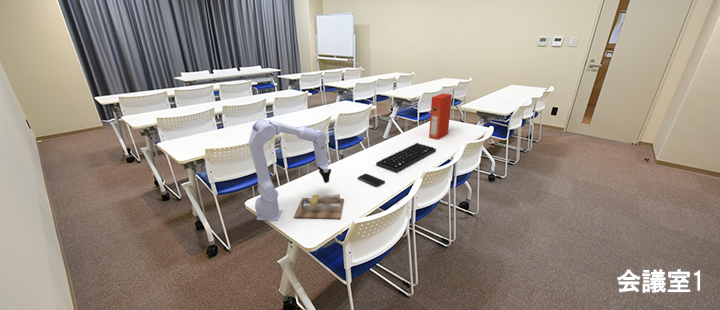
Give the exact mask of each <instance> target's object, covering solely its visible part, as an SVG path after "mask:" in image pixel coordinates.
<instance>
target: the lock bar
mask: <svg viewBox="0 0 720 310" xmlns="http://www.w3.org/2000/svg"><path fill="white" fill-rule="evenodd" d="M319 197H320V194H312V195H311V197H310V198H311V201H310V205H312V206H317V204H318V201H319Z"/></svg>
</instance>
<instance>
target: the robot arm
mask: <svg viewBox="0 0 720 310" xmlns="http://www.w3.org/2000/svg"><path fill="white" fill-rule="evenodd" d="M281 133H284V134H289V135H294V136H296V137H297V139H300V140H303V141H307V142H312V144H313V145H312V146H313V150H314V151H313V152H314V157H315V165H316V167H317V168H318V172H319V174H320V176H321V177H322V179H323V182H324V183H325V184H327V183H330V176H331V173H332V169H331V168H329V164H330V163H332V161H331V159H329V158H328V153H327V144H326V142H327V139H328V136H327V135H326V133H325V132H324V131H322V130H320V129H318V128H315V127H314V128H311V127H309V126H308V125H301V126H298V127H295V126H293V125H290V124H285V123H282V122H278V121H274V120H266V119H263V118H262V119H258V120H256V121H255V123H254V124H253V125H252V126H251V132H250V136H249V140H248V147H249V151H250V153H251V154H250V155H251V158H252V160H253V161H252V162H253V165H254V169H255V173H256V176H257V192H258V194H260V197H257V198H256V200H255V203H254V207H255V208H254V209H255V214H256V220H257V221H278V220H279V217H281V216H280V215H281V214H282V212H283V209H280V208H279V207H280V206H279V201H278V200H279V199H278V197H279V192H278V190H277V189H276V188H275V185H274V183H273V181H272V179H271V175H270V171H269V167H268V163H267V162H268V161H267V157H266V155H265V151H264V146H265V144H267V143H268V142H269V141H271V140H272V139H273V138H274V137H276V136H279V135H280V134H281ZM261 218H262V219H261Z"/></svg>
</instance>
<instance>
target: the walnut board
mask: <svg viewBox="0 0 720 310" xmlns="http://www.w3.org/2000/svg"><path fill="white" fill-rule="evenodd" d="M310 198H311V197H301V200H300V202H299V204H298V206H297V208H296V211H295V213H294V215H293V219H295V220H296V219H297V220H298V219H299V220H300V219H302V220H304V219H306V220H337V221H338V220H341V218H342V213H343V208H344V204H345V203H344V202H345V198H340V201H338V202H332V203H326V204H341V211H340V212H323V211H304V209H303V208H302V200H308V199H310ZM308 203H309V200H308Z"/></svg>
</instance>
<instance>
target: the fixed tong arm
mask: <svg viewBox="0 0 720 310" xmlns="http://www.w3.org/2000/svg"><path fill="white" fill-rule="evenodd" d="M301 200H302V199H301ZM302 208H303V209H304V211H323V212H340V211H341V204H319V203H318V204H317V206H312V205H310V203H308V200H302Z"/></svg>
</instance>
